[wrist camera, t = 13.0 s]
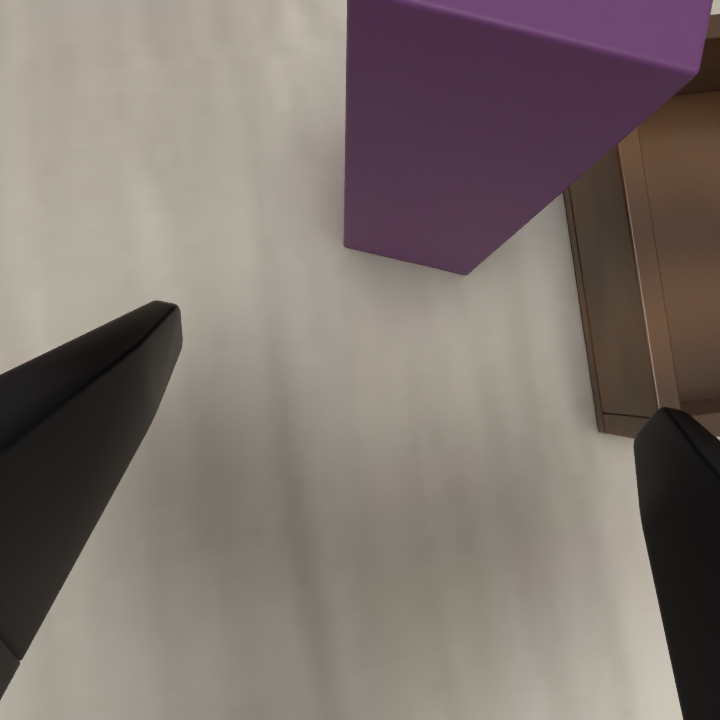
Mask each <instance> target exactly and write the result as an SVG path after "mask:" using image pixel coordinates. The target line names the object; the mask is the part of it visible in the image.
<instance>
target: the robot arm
mask: <svg viewBox="0 0 720 720" xmlns="http://www.w3.org/2000/svg"><path fill="white" fill-rule="evenodd" d="M182 342H183V337H182V325H181V313H180V309H179V307H178V306H177V305H176V304H173V303H168V302H164V301H157V300H156V301H152V302H150V303H148V304H146V305H144V306H142V307H140V308H138V309H136V310H133V311H131V312H129V313H127V314H125V315H123V316H121V317H119V318H117V319H115V320H113V321H111V322H109V323H107V324H105V325H102V326H100V327H98V328H96V329H94V330H92V331H90V332H88V333H86V334H84V335H82V336H80V337H78V338H76V339H73V340H71V341H69V342H67V343H65V344H63V345H61V346H59V347H57V348H55V349H53V350H51V351H49V352H47V353H44V354H42V355H40V356H38V357H36V358H34V359H32V360H30V361H28V362H26V363H24V364H22V365H20V366H18V367H15V368H13V369H11V370H9V371H7V372H5V373H3V374H1V375H0V700H1V698H2V696H3V694H4V692H5V690H6V689H7V687H8V685H9V683H10V681H11V680H12V678H13V676H14V674H15V672H16V670H17V669H18V667H19V665H20V660H22V659H23V657H24V655H25V653H26V652H27V650H28V648H29V646H30V644H31V642H32V641H33V639H34V637H35V635H36V633H37V632H38V630H39V628H40V626H41V624H42V622H43V621H44V619H45V617H46V615H47V613H48V611H49V610H50V608H51V606H52V604H53V602H54V601H55V599H56V597H57V595H58V593H59V591H60V590H61V588H62V586H63V584H64V582H65V580H66V579H67V577H68V575H69V573H70V571H71V570H72V568H73V566H74V564H75V562H76V560H77V559H78V557H79V555H80V553H81V551H82V549H83V548H84V546H85V544H86V542H87V540H88V539H89V537H90V535H91V533H92V531H93V529H94V528H95V526H96V524H97V522H98V520H99V518H100V517H101V515H102V513H103V511H104V509H105V508H106V506H107V504H108V502H109V500H110V498H111V497H112V495H113V493H114V491H115V489H116V487H117V486H118V484H119V482H120V480H121V478H122V477H123V475H124V473H125V471H126V469H127V467H128V466H129V464H130V462H131V460H132V458H133V456H134V455H135V453H136V451H137V449H138V447H139V446H140V444H141V442H142V440H143V438H144V436H145V435H146V433H147V431H148V429H149V427H150V425H151V423H152V421H153V419H154V417H155V415H156V412H157V410H158V407H159V405H160V402H161V400H162V397H163V395H164V392H165V390H166V387H167V385H168V382H169V380H170V377H171V375H172V372H173V369H174V367H175V364H176V362H177V359H178V357H179V354H180V352H181V348H182ZM634 455H635V466H636V476H637V487H638V497H639V508H640V515H641V522H642V527H643V532H644V537H645V542H646V547H647V551H648V556H649V561H650V565H651V570H652V575H653V580H654V584H655V589H656V594H657V598H658V603H659V608H660V612H661V617H662V622H663V627H664V631H665V636H666V641H667V645H668V650H669V655H670V659H671V664H672V669H673V674H674V678H675V683H676V688H677V692H678V697H679V702H680V707H681V711H682V716H683V720H720V441H719V440H718V439H717V438H716V437H715V436H714V435H713V434H711V433H710V432H709V431H708V430H707V429H706V428H705V427H703V426H702V425H701V424H700V423H699V422H698V421H697V420H695V419H694V418H693V417H692V416H691V415H690V414H689V413H687V412H685V411H683V410H679V409H675V408H670V407H661V408H659V409H657V410H656V411H655V412H654V414H653V415H652V416H651V417H650V418H649V420H648V421H647V422H646V423H645V424H644V425H643V427H642V428H641V429H640V430H639V431H638V433H637V434H636V437H635V440H634Z"/></svg>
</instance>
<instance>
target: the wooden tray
mask: <svg viewBox="0 0 720 720" xmlns="http://www.w3.org/2000/svg"><path fill="white" fill-rule="evenodd" d="M564 197H565V204H566V211H567V218H568V224H569V231H570V238H571V245H572V252H573V259H574V265H575V272H576V279H577V286H578V293H579V299H580V306H581V313H582V320H583V327H584V333H585V340H586V347H587V354H588V361H589V368H590V374H591V381H592V388H593V395H594V402H595V408H596V415H597V422H598V429H599V432H601V433H607V434H612V435H617V436H623V437H628V438H634V439H635V437H636V434H637V433H638V431H639V430H640V429H641V428H642V427H643V425H644V424H645V423H646V422H647V421H648V420H649V418H650V417H651V416H652V415H653V414H654V412H655V411H656V410H657V409H659V408H661V407H670V408H675V409H679V410H683V411H685V412H687V413H689V414H690V415H691V416H692V417H693V418H694V419H695V420H697V421H698V422H699V423H700V424H701V425H702V426H703V427H705V428H706V429H707V430H708V431H709V432H710V433H711V434H713V435H714V436H715V437H720V14H716V15H710V18H709V23H708V28H707V33H706V38H705V43H704V48H703V53H702V59H701V64H700V69H699V72H698V73H697V75H696V76H695V77H694V78H693V79H692V80H691V81H690V82H689V83H687V84H686V85H685V86H684V87H683V88H682V89H681V90H679V91H678V92H677V93H676V94H675V95H674V96H672V97H671V98H670V99H669V100H668V101H667V102H666V103H664V104H663V105H662V106H661V107H660V108H659V109H658V110H656V111H655V112H654V113H653V114H652V115H651V116H649V117H648V118H647V119H646V120H645V121H644V122H643V123H641V124H640V125H639V126H638V127H637V128H636V129H634V130H633V131H632V132H631V133H630V134H629V135H628V136H626V137H625V138H624V139H623V140H622V141H621V142H620V143H618V144H617V145H616V146H615V147H614V148H613V149H611V150H610V151H609V152H608V153H607V154H606V155H605V156H603V157H602V158H601V159H600V160H599V161H598V162H597V163H595V164H594V165H593V166H592V167H591V168H590V169H588V170H587V171H586V172H585V173H584V174H583V175H582V176H580V177H579V178H578V179H577V180H576V181H575V182H573V183H572V184H571V185H570V186H569V187H568V188H567V189H565V190H564Z"/></svg>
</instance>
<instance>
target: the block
mask: <svg viewBox="0 0 720 720" xmlns="http://www.w3.org/2000/svg"><path fill="white" fill-rule="evenodd" d="M712 2H713V0H347V48H346V120H345V191H344V246H345V247H348V248H352V249H356V250H361V251H365V252H369V253H374V254H378V255H382V256H386V257H391V258H395V259H399V260H404V261H408V262H412V263H416V264H421V265H425V266H429V267H434V268H438V269H442V270H447V271H451V272H455V273H459V274H464V275H468V274H469V273H470V272H471V271H472V270H473V269H475V268H476V267H477V266H478V265H479V264H480V263H481V262H483V261H484V260H485V259H486V258H487V257H488V256H489V255H491V254H492V253H493V252H494V251H495V250H496V249H498V248H499V247H500V246H501V245H502V244H503V243H504V242H506V241H507V240H508V239H509V238H510V237H511V236H512V235H514V234H515V233H516V232H517V231H518V230H519V229H521V228H522V227H523V226H524V225H525V224H526V223H527V222H529V221H530V220H531V219H532V218H533V217H534V216H536V215H537V214H538V213H539V212H540V211H541V210H542V209H544V208H545V207H546V206H547V205H548V204H549V203H550V202H552V201H553V200H554V199H555V198H556V197H557V196H559V195H560V194H561V193H562V192H563V191H564V190H565V189H567V188H568V187H569V186H570V185H571V184H572V183H573V182H575V181H576V180H577V179H578V178H579V177H580V176H582V175H583V174H584V173H585V172H586V171H587V170H588V169H590V168H591V167H592V166H593V165H594V164H595V163H597V162H598V161H599V160H600V159H601V158H602V157H603V156H605V155H606V154H607V153H608V152H609V151H610V150H611V149H613V148H614V147H615V146H616V145H617V144H618V143H620V142H621V141H622V140H623V139H624V138H625V137H626V136H628V135H629V134H630V133H631V132H632V131H633V130H634V129H636V128H637V127H638V126H639V125H640V124H641V123H643V122H644V121H645V120H646V119H647V118H648V117H649V116H651V115H652V114H653V113H654V112H655V111H656V110H658V109H659V108H660V107H661V106H662V105H663V104H664V103H666V102H667V101H668V100H669V99H670V98H671V97H672V96H674V95H675V94H676V93H677V92H678V91H679V90H681V89H682V88H683V87H684V86H685V85H686V84H687V83H689V82H690V81H691V80H692V79H693V78H694V77H695V76H696V75H697V73H698V72H699V69H700V64H701V59H702V53H703V48H704V43H705V38H706V33H707V28H708V23H709V18H710V13H711V7H712Z"/></svg>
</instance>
